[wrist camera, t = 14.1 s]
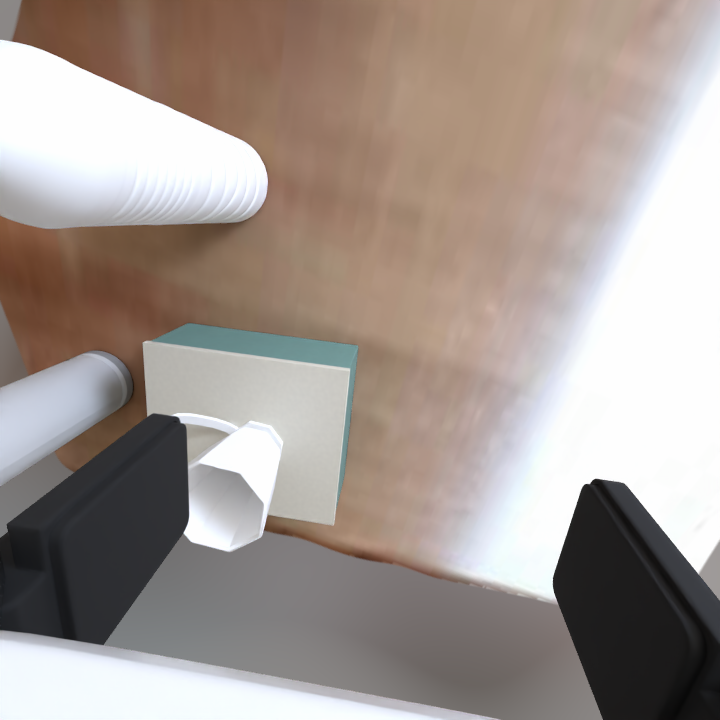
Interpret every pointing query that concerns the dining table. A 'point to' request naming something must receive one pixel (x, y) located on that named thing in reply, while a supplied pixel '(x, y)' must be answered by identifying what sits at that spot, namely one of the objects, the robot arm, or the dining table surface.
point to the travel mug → (58, 407)
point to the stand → (263, 403)
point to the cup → (231, 484)
